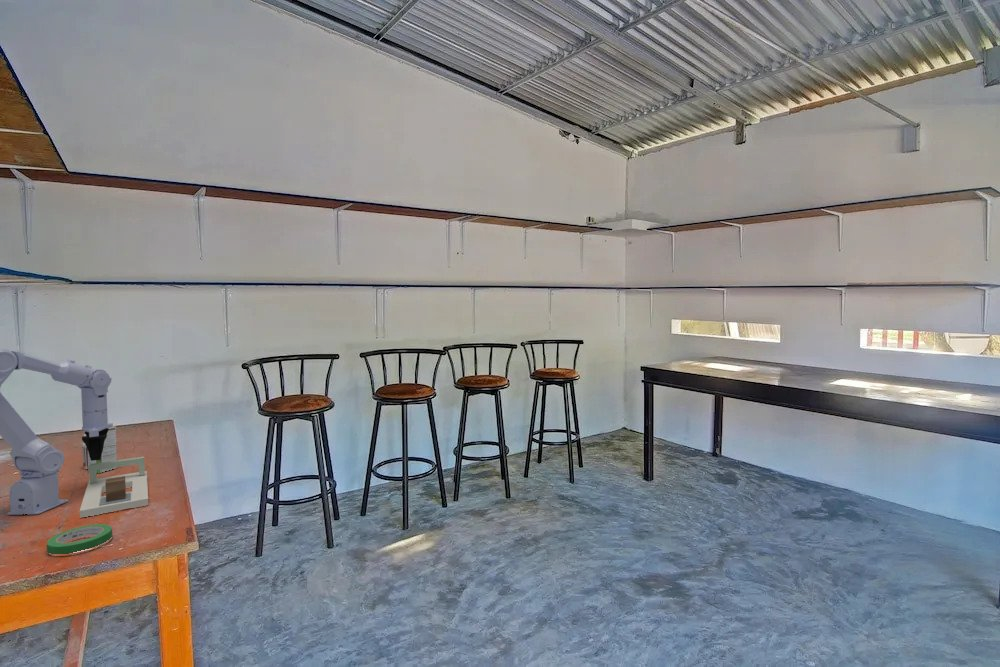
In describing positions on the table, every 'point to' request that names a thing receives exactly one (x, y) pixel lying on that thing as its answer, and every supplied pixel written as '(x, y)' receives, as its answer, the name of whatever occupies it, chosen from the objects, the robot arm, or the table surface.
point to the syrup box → (107, 450)
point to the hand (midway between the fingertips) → (96, 457)
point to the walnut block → (115, 489)
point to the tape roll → (59, 547)
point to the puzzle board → (98, 504)
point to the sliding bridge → (115, 464)
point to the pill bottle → (85, 455)
